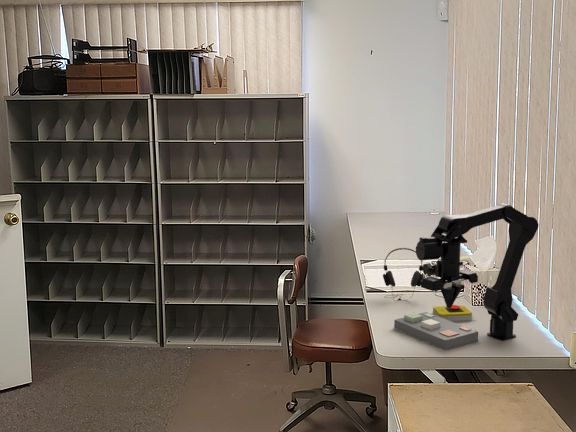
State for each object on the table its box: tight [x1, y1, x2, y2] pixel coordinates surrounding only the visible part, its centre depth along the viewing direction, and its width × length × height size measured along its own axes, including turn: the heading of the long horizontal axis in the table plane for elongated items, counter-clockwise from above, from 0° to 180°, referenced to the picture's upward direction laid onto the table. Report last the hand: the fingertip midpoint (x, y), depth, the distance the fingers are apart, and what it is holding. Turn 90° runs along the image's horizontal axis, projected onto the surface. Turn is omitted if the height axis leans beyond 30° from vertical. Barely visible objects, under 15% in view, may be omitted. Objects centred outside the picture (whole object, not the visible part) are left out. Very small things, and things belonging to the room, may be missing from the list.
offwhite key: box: [421, 319, 440, 330], centre depth 211 cm, size 4×4×2 cm
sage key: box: [403, 312, 423, 323], centre depth 218 cm, size 4×4×2 cm
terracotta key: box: [439, 330, 459, 337], centre depth 205 cm, size 4×4×2 cm
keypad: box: [393, 311, 479, 351], centre depth 212 cm, size 23×14×3 cm, turn 32°
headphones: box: [382, 247, 425, 302], centre depth 249 cm, size 15×11×20 cm
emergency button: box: [430, 304, 477, 323], centre depth 229 cm, size 9×4×15 cm
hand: (448, 307), depth 203 cm, fingers closed
